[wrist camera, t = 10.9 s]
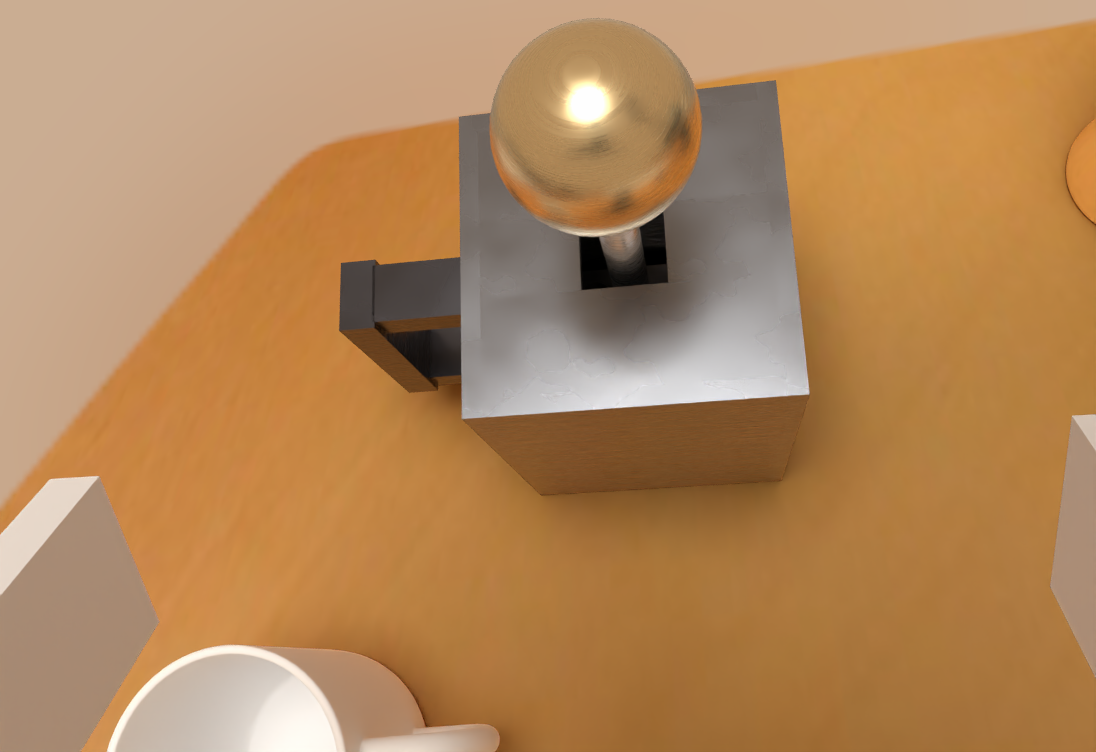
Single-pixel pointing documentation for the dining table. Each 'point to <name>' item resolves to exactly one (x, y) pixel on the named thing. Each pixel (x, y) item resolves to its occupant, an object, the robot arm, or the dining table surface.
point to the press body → (612, 322)
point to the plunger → (598, 138)
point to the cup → (284, 707)
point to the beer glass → (1083, 171)
